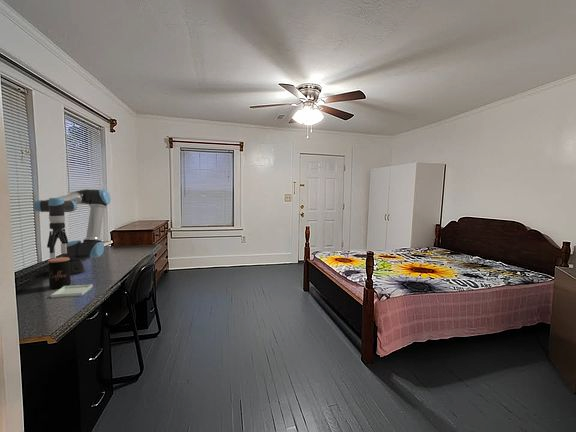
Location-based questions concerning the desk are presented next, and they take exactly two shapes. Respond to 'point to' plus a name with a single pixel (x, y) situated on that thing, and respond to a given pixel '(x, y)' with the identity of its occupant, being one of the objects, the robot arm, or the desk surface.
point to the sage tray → (72, 291)
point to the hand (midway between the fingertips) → (58, 255)
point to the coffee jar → (59, 272)
